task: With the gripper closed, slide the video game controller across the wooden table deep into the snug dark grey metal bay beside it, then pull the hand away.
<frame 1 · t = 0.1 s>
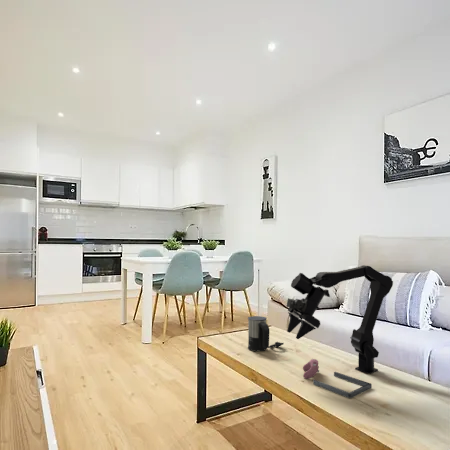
hand: (292, 335, 136), 15 cm above the table, tool tilted 30°, fingers open, 9 cm apart
metal bay: (340, 385, 124), on the table
milk frother: (265, 349, 168), on the table
video game controller: (310, 375, 134), on the table
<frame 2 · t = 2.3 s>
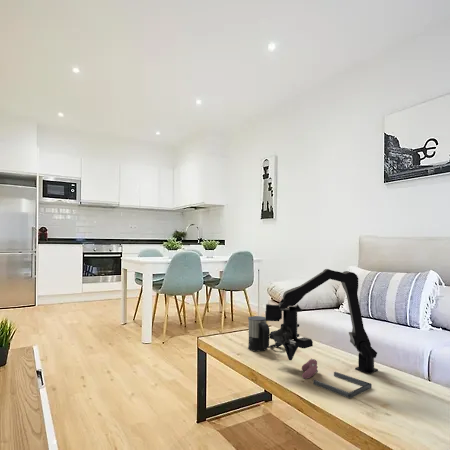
hand: (290, 360, 143), 3 cm above the table, tool pointing down, fingers closed
nothing on the table moved.
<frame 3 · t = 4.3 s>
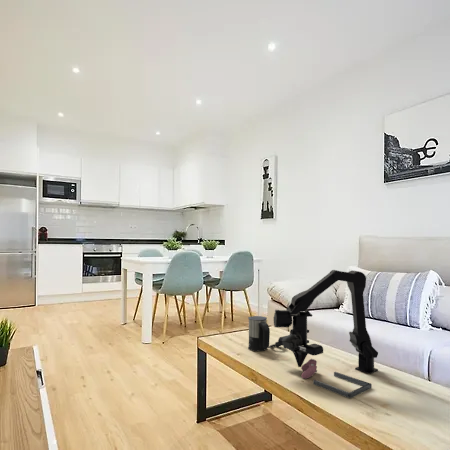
hand: (299, 366, 139), 1 cm above the table, tool pointing down, fingers closed
video game controller: (309, 375, 134), on the table, touching gripper
everything else where it was.
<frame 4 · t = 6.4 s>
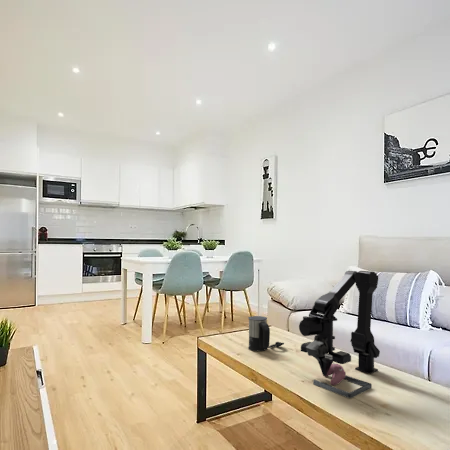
hand: (324, 375, 129), 2 cm above the table, tool pointing down, fingers closed
video game controller: (334, 381, 129), on the table, touching gripper, metal bay
everything else where it was.
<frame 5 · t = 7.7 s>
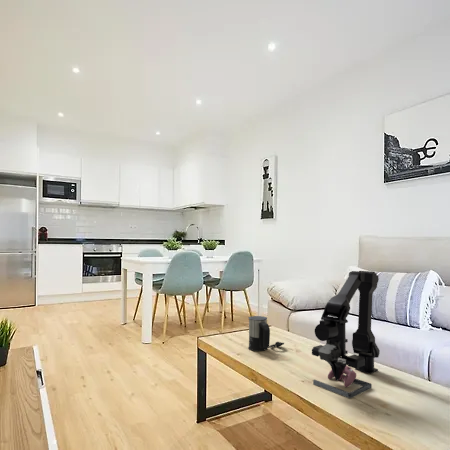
hand: (337, 380, 125), 2 cm above the table, tool pointing down, fingers closed
video game controller: (342, 382, 128), on the table, touching metal bay
everything else where it was.
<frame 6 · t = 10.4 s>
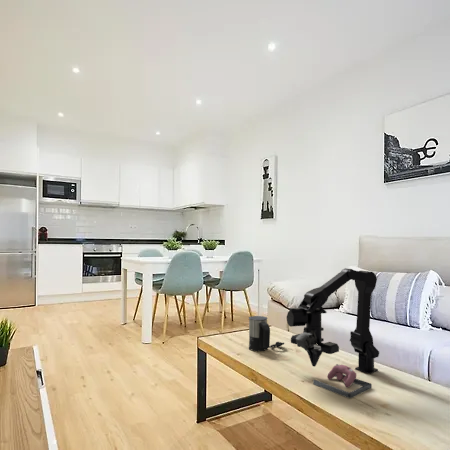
hand: (313, 366, 133), 4 cm above the table, tool pointing down, fingers closed
video game controller: (341, 382, 128), on the table
everything else where it was.
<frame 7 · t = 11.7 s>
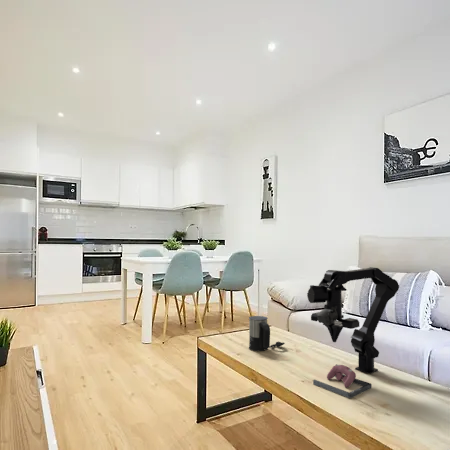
hand: (334, 342, 137), 12 cm above the table, tool pointing down, fingers closed
nothing on the table moved.
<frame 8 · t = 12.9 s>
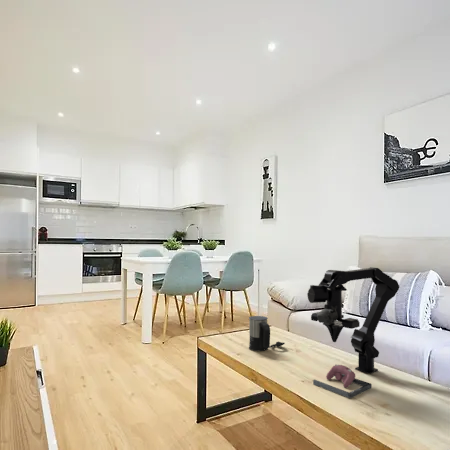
hand: (334, 341, 137), 12 cm above the table, tool pointing down, fingers closed
nothing on the table moved.
at the end: video game controller inside the target area on the metal bay (3.5 cm from its centre), point 0.0 cm above the metal bay's base; the gripper is holding nothing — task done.
